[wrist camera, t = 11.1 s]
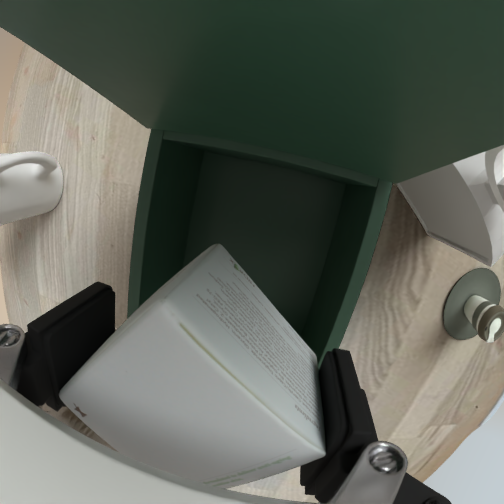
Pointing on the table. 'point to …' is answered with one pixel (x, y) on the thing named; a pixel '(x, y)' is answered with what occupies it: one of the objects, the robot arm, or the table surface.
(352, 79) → the bin lid
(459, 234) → the gravestone
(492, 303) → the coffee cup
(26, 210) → the mug
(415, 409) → the table surface
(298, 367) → the small box
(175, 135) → the bin
